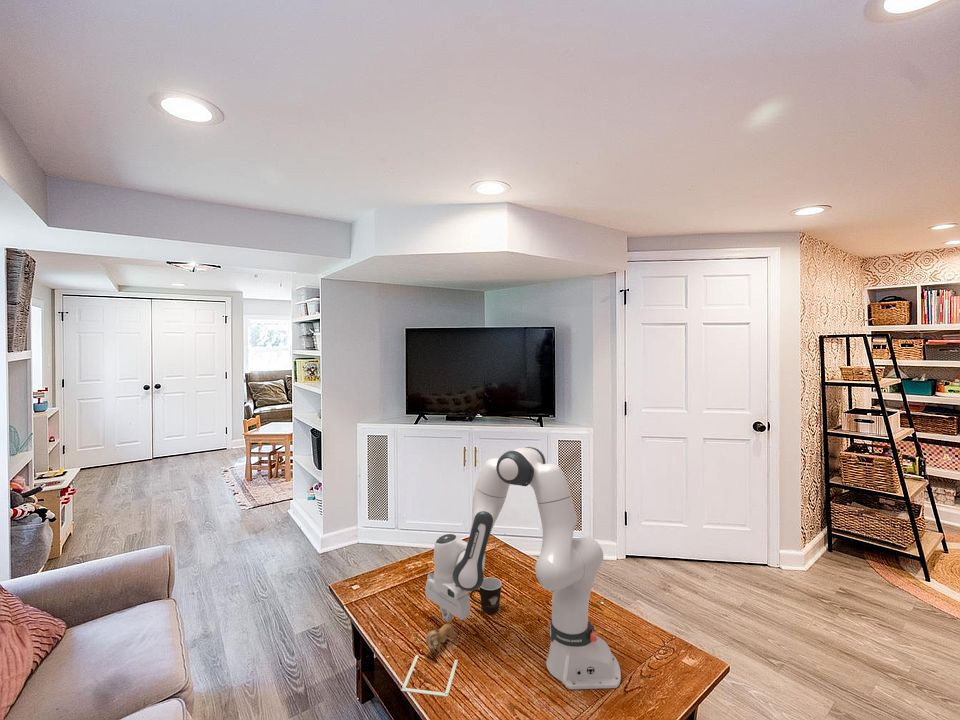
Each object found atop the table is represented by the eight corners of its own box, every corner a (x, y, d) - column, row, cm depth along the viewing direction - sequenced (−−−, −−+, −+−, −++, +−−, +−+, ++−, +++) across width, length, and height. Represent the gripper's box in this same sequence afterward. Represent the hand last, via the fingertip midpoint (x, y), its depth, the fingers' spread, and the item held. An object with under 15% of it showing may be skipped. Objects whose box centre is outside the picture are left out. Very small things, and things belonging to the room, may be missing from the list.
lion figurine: (435, 665, 142) (435, 638, 141) (421, 659, 144) (421, 632, 144) (459, 637, 154) (459, 612, 154) (446, 632, 157) (446, 607, 156)
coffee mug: (502, 602, 174) (502, 577, 173) (501, 616, 165) (501, 590, 165) (472, 601, 175) (472, 576, 175) (469, 615, 167) (469, 589, 166)
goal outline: (458, 660, 144) (458, 659, 144) (447, 696, 129) (447, 696, 129) (415, 655, 146) (415, 654, 146) (400, 690, 131) (400, 690, 131)
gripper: (420, 574, 162) (421, 610, 163) (459, 597, 148) (459, 637, 149) (434, 567, 167) (434, 603, 168) (473, 589, 153) (473, 628, 154)
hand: (446, 619), depth 158 cm, fingers closed
